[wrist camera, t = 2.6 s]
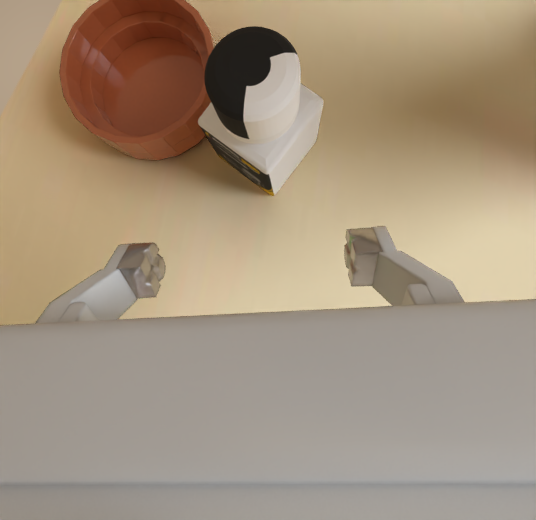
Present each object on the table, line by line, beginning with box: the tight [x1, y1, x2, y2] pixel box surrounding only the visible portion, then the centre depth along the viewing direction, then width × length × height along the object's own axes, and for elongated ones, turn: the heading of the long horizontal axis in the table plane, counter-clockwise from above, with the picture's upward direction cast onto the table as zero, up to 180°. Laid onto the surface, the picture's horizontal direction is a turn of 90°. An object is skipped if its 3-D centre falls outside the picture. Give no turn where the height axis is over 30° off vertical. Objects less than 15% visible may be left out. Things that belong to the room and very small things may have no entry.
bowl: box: [59, 0, 215, 160], centre depth 29 cm, size 14×14×4 cm
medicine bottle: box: [198, 27, 323, 196], centre depth 24 cm, size 7×7×12 cm
